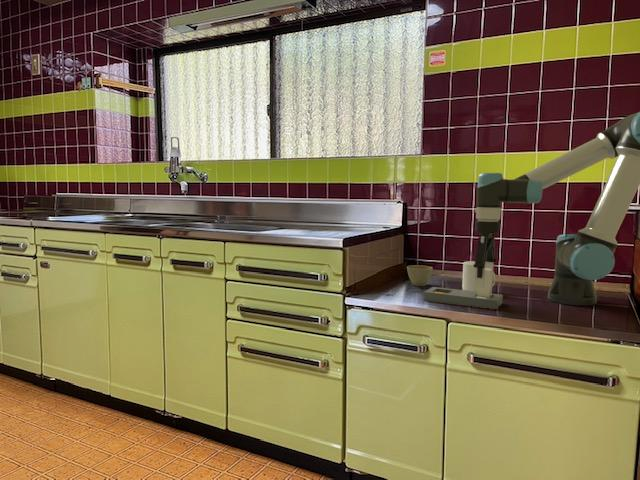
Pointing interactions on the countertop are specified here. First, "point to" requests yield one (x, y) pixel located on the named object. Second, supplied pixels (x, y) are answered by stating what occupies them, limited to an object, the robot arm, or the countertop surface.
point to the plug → (486, 285)
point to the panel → (462, 298)
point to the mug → (470, 276)
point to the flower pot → (419, 274)
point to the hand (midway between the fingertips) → (484, 284)
